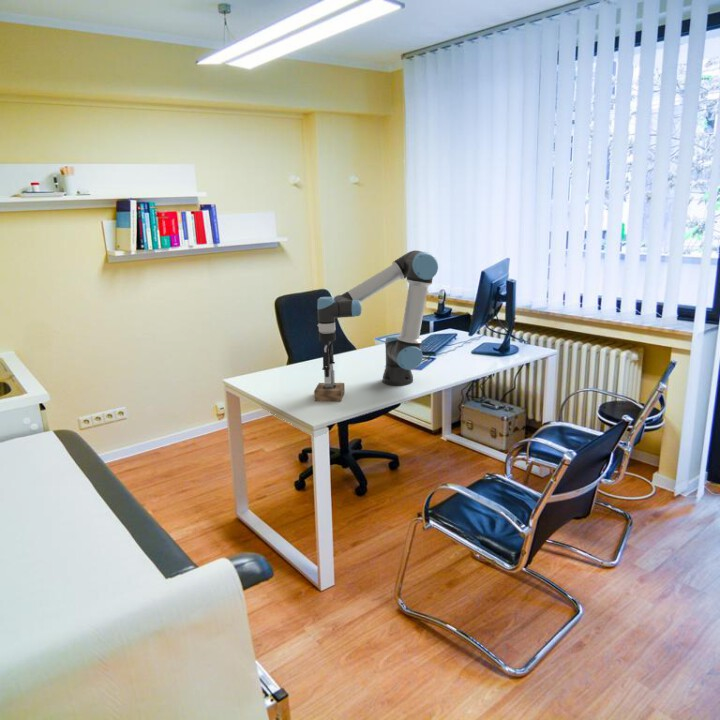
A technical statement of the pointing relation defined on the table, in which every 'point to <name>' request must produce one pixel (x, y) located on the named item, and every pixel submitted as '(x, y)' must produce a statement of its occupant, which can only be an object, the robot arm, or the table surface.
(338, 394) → the brown square hole block
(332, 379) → the metal peg
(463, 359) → the table surface
